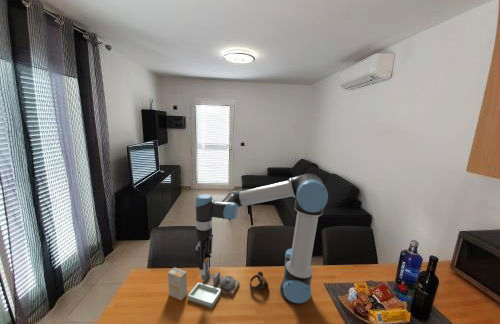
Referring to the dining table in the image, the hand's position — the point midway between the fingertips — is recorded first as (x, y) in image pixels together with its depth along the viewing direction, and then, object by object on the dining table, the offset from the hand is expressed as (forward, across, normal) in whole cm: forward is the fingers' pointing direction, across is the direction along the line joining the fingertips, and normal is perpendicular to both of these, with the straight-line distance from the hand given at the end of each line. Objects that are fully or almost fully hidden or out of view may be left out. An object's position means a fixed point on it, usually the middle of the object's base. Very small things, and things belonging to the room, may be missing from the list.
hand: (204, 271), depth 104 cm
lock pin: (+3, 0, 0) cm, 3 cm away
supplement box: (+14, +4, -13) cm, 19 cm away
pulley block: (+14, -10, +4) cm, 17 cm away
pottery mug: (+14, -16, +24) cm, 32 cm away
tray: (+14, 0, 0) cm, 14 cm away
